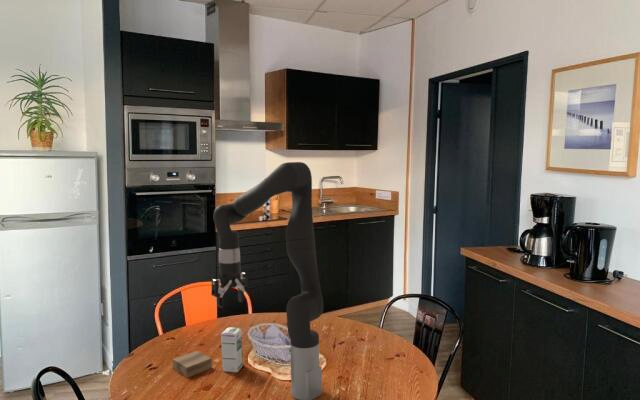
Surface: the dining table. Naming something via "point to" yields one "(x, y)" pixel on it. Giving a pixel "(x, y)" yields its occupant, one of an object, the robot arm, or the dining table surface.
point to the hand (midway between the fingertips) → (230, 304)
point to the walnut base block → (192, 363)
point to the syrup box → (232, 349)
